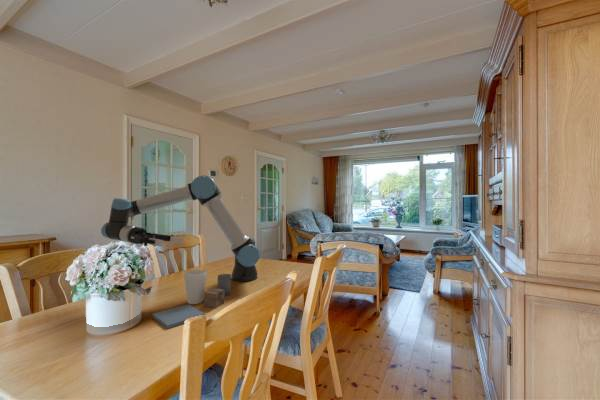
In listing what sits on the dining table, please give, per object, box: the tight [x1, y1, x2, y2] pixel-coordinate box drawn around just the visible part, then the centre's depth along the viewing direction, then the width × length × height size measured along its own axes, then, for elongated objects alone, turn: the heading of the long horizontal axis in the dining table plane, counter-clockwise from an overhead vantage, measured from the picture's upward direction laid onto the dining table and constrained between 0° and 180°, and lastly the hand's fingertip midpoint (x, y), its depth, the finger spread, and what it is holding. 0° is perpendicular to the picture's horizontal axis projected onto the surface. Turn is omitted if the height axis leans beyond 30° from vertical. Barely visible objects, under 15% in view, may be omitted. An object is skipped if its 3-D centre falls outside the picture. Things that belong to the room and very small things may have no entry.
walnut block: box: [203, 287, 225, 309], centre depth 118 cm, size 6×6×6 cm
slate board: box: [152, 303, 206, 330], centre depth 105 cm, size 14×14×1 cm
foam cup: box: [183, 269, 208, 305], centre depth 121 cm, size 10×9×13 cm
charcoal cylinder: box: [217, 273, 232, 297], centre depth 131 cm, size 6×6×9 cm
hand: (173, 242), depth 122 cm, fingers open, 13 cm apart
